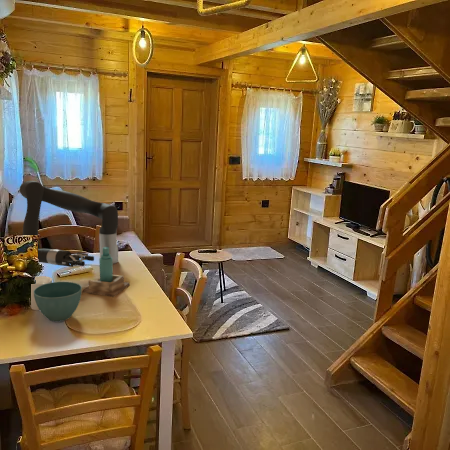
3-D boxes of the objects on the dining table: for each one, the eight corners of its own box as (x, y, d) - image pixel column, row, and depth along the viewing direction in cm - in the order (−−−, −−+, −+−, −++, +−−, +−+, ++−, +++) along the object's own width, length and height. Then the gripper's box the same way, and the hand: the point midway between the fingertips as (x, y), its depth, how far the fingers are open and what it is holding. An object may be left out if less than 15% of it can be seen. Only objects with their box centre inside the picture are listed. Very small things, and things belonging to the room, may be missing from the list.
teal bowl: (25, 320, 183) (23, 291, 180) (60, 305, 198) (59, 278, 196) (57, 331, 175) (56, 301, 172) (92, 314, 190) (91, 286, 188)
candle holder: (48, 311, 191) (46, 284, 189) (24, 310, 191) (23, 283, 189) (56, 302, 201) (55, 276, 198) (34, 301, 201) (33, 275, 198)
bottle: (106, 283, 223) (106, 245, 219) (115, 285, 220) (115, 247, 216) (97, 286, 218) (96, 248, 214) (105, 289, 215) (105, 250, 211)
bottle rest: (82, 292, 214) (82, 281, 212) (100, 281, 229) (99, 271, 228) (114, 296, 210) (113, 285, 209) (129, 285, 225) (129, 275, 224)
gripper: (49, 254, 215) (80, 257, 211) (67, 246, 228) (96, 249, 225) (50, 269, 216) (81, 273, 213) (67, 260, 230) (96, 264, 226)
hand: (89, 261), depth 219 cm, fingers open, 8 cm apart
